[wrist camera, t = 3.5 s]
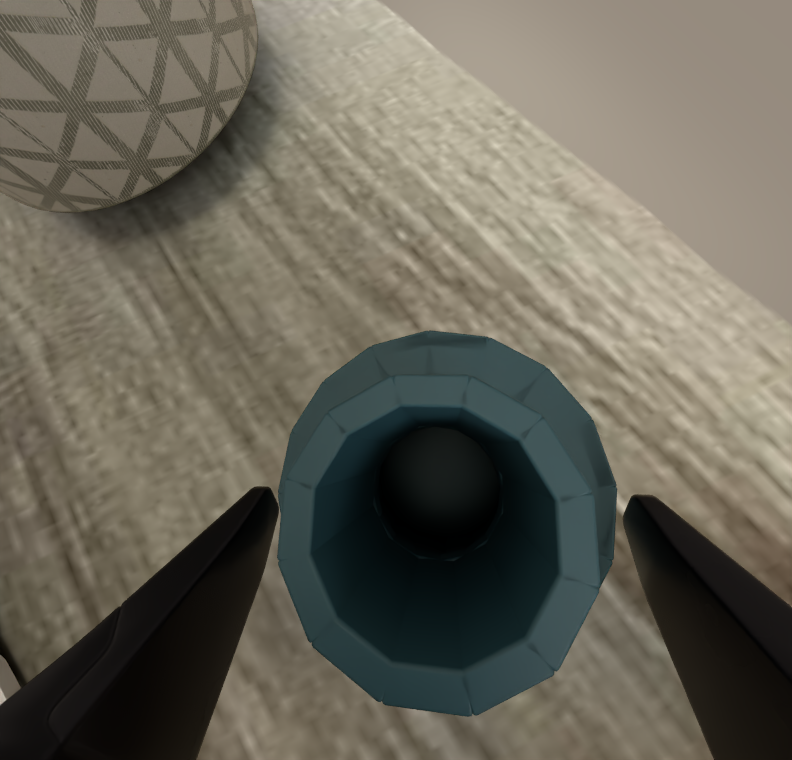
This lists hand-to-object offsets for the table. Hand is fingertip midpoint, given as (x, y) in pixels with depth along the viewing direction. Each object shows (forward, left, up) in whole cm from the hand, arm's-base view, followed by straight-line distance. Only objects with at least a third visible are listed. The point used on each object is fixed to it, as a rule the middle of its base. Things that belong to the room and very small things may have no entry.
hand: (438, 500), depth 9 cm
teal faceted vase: (0, 0, -8) cm, 8 cm away
